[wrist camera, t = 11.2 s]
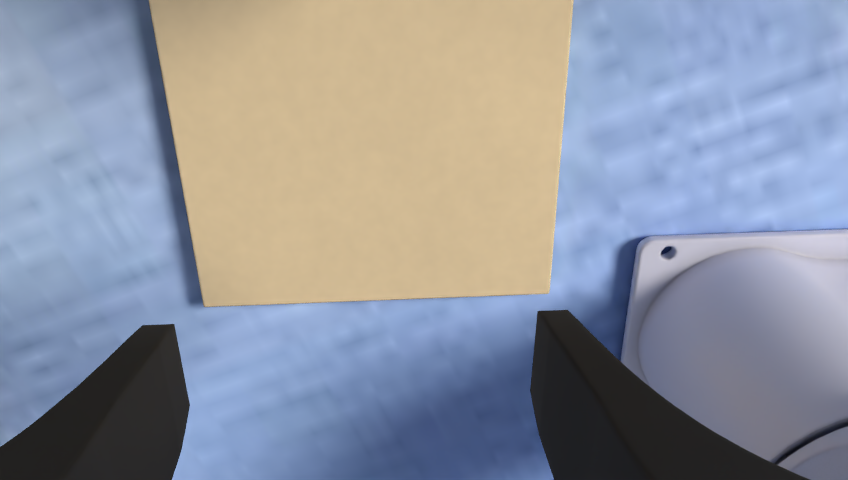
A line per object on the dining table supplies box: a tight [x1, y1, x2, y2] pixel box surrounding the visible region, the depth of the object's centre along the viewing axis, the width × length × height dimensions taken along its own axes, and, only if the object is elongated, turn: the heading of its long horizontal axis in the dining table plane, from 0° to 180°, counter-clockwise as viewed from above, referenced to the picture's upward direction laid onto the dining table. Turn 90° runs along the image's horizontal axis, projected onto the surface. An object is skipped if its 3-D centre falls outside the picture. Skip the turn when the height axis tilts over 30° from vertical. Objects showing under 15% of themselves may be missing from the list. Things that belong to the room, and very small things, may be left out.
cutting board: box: [149, 0, 573, 307], centre depth 21 cm, size 12×20×1 cm, turn 1°
